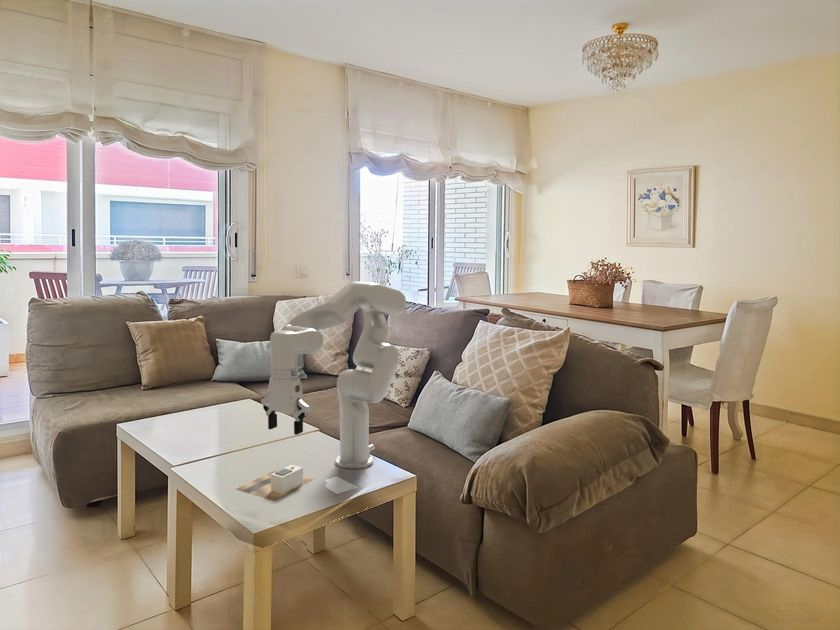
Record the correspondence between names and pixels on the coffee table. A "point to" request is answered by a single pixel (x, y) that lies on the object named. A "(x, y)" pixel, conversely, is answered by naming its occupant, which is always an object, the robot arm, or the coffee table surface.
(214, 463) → the coffee table surface
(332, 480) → the hard drive
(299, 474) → the stud finder
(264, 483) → the subfloor board
